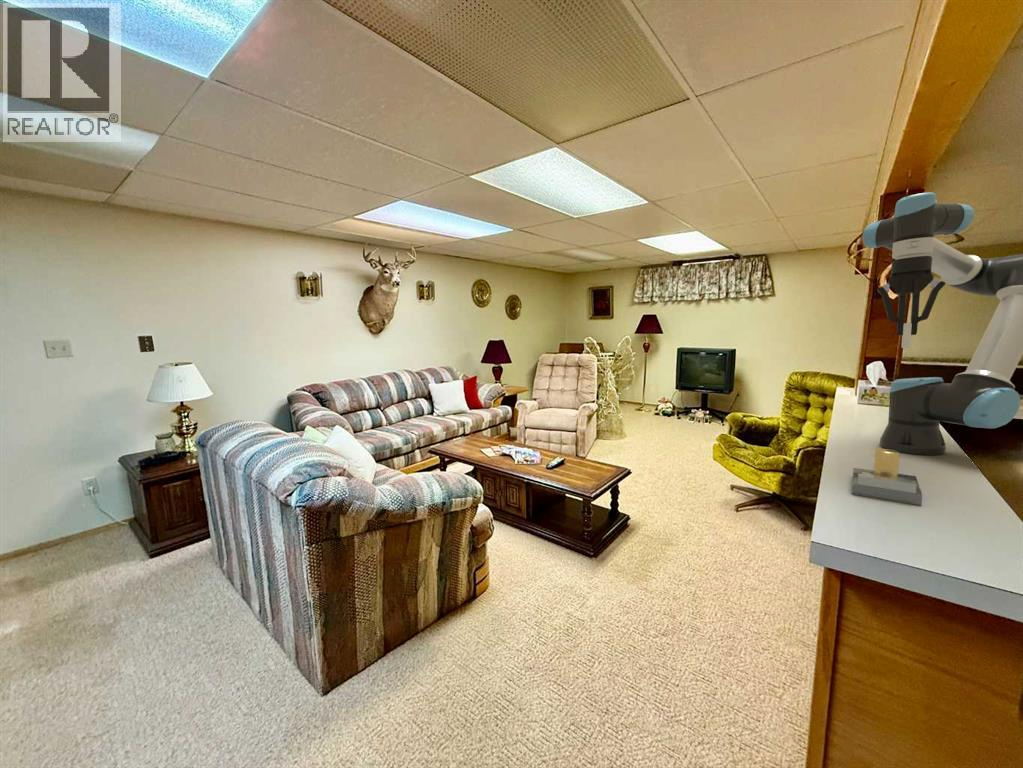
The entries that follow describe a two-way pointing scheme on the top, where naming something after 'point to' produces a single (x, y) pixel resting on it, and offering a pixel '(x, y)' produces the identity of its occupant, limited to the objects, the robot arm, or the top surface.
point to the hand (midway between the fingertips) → (905, 347)
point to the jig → (886, 487)
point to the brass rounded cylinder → (886, 463)
